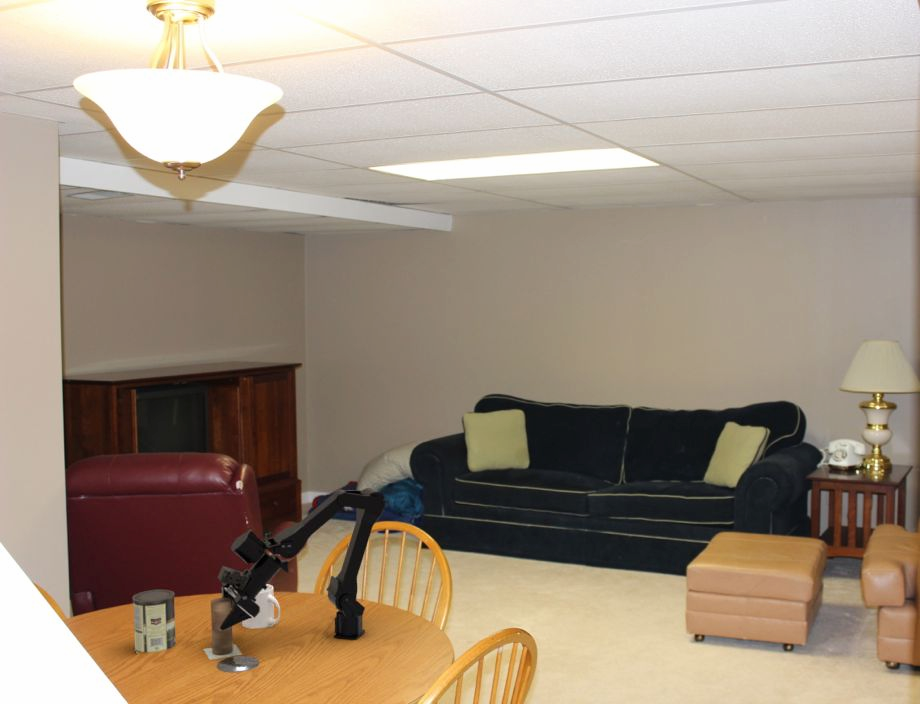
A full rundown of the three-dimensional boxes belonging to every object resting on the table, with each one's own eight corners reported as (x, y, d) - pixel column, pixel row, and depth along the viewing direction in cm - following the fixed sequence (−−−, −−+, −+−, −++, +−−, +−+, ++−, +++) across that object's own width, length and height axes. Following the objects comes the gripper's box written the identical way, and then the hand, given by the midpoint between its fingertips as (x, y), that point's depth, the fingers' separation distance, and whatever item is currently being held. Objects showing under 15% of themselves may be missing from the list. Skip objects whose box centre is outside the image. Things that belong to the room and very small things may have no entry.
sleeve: (236, 649, 256) (234, 598, 255) (226, 656, 251) (224, 604, 250) (219, 647, 257) (217, 597, 256) (208, 654, 252) (206, 603, 251)
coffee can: (162, 639, 266) (161, 586, 265) (183, 648, 259) (182, 594, 258) (126, 649, 259) (124, 595, 258) (147, 659, 252) (145, 604, 251)
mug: (269, 636, 268) (268, 596, 267) (235, 629, 274) (234, 590, 273) (290, 626, 275) (289, 587, 274) (256, 619, 281) (255, 581, 280)
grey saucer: (266, 663, 249) (266, 658, 249) (246, 678, 239) (246, 673, 239) (230, 659, 252) (230, 654, 251) (209, 673, 242) (209, 669, 242)
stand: (235, 647, 259) (235, 644, 259) (242, 658, 252) (242, 654, 252) (203, 652, 256) (203, 649, 256) (209, 663, 249) (209, 659, 249)
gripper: (229, 546, 262) (186, 594, 259) (245, 564, 246) (200, 615, 242) (259, 572, 266) (218, 619, 262) (278, 592, 249) (234, 642, 246)
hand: (217, 623), depth 253 cm, fingers open, 9 cm apart
